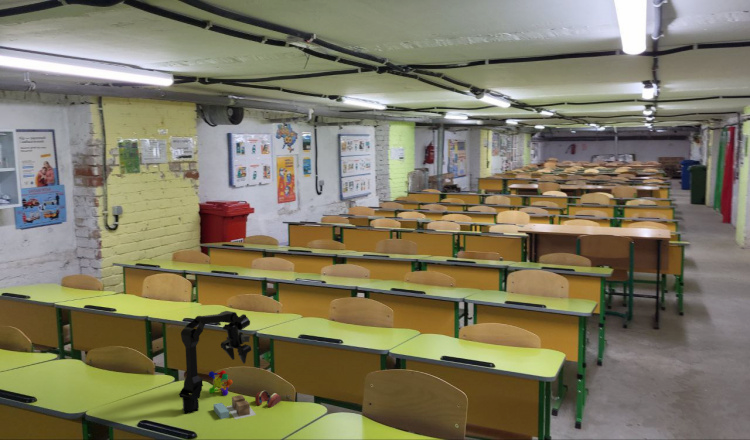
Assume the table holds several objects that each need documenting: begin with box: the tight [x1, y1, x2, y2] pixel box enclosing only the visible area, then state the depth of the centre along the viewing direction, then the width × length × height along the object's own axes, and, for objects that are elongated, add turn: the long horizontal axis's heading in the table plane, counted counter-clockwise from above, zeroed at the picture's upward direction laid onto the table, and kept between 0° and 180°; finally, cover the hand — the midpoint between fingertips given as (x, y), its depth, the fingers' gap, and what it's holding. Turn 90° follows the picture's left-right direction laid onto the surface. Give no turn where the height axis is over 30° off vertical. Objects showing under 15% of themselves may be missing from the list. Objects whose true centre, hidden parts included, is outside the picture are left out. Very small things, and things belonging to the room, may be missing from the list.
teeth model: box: [254, 390, 282, 408], centre depth 289 cm, size 8×6×12 cm
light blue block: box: [213, 402, 230, 420], centre depth 278 cm, size 12×4×4 cm, turn 31°
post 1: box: [231, 394, 246, 410], centre depth 284 cm, size 5×5×5 cm
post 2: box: [236, 399, 251, 417], centre depth 277 cm, size 5×5×5 cm
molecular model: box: [208, 370, 234, 396], centre depth 304 cm, size 12×7×12 cm, turn 64°
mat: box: [225, 404, 257, 420], centre depth 281 cm, size 10×17×1 cm, turn 28°
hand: (238, 361), depth 308 cm, fingers open, 9 cm apart
